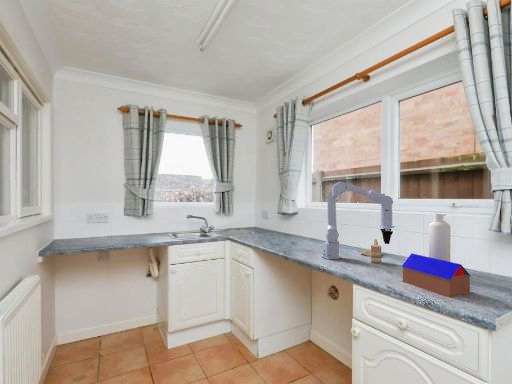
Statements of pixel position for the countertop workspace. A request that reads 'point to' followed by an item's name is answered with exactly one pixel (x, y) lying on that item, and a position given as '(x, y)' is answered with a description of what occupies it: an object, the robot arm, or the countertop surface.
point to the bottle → (439, 238)
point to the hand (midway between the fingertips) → (386, 242)
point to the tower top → (375, 255)
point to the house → (436, 275)
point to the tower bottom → (376, 260)
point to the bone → (368, 253)
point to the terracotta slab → (376, 248)
